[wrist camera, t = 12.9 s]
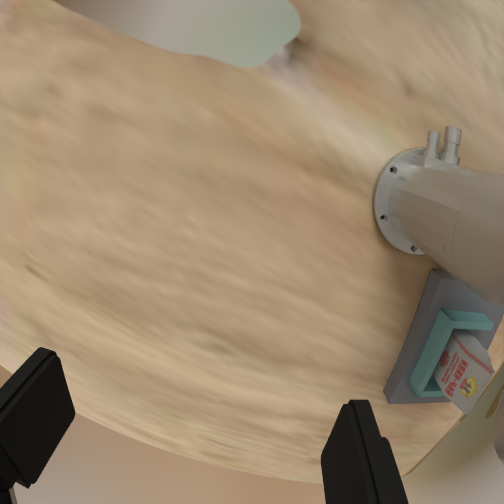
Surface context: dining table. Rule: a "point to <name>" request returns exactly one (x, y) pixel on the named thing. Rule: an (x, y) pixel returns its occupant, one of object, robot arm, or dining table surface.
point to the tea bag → (463, 369)
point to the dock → (438, 337)
